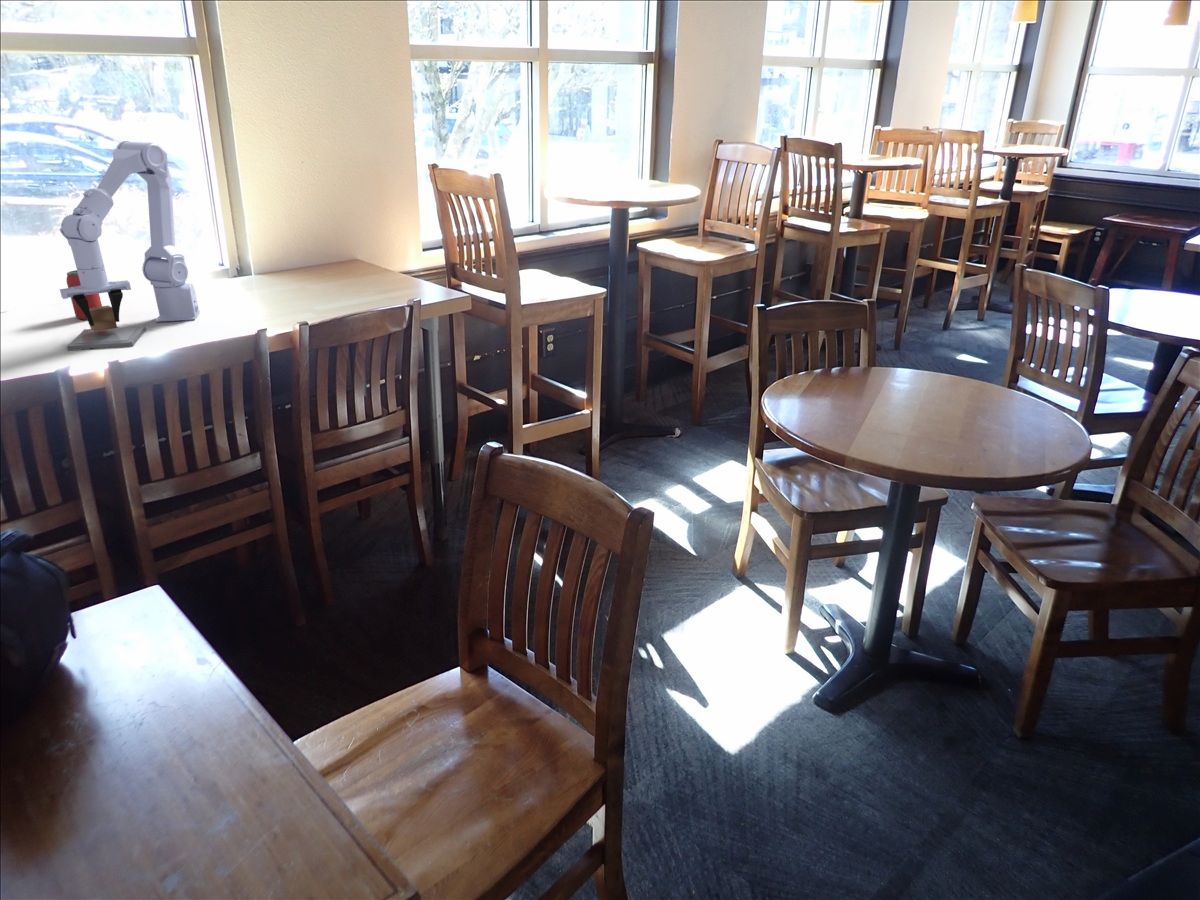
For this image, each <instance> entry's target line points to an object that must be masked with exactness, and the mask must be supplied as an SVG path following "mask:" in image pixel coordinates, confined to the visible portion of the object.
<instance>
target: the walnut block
mask: <svg viewBox="0 0 1200 900" xmlns="http://www.w3.org/2000/svg"><path fill="white" fill-rule="evenodd" d="M89 310H90V314H91V317H92V320H93V323H94V326H90V325H89V327H90V329H92V330H93V331H101V330H107V329H113V328H117V327H118V326H117V322H116V321H115V318H114V313H113V309H112V306H110V305H102V306H101V307H94V308H89Z"/></svg>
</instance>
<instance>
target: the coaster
mask: <svg viewBox="0 0 1200 900" xmlns="http://www.w3.org/2000/svg"><path fill="white" fill-rule="evenodd" d="M146 331H147V327H146V325H138V326H137V325H135V326H121V327H119V326H117V328H113V329H107V330H101V331H93V330H92V329H91V328H89V329H87V328H85V329H83V330H82V331H81V332H80V333H79V334H78V335H77V336H76V337H75V338H74V339H73V340H72V341H71V342H70V343H68V345H67V346H66V348H67V351H72V350H71V349H82V350H91V349H90V348H97V349H107V348H108V349H109V348H110V347H112V348H125V347H127V348H128V347H134V346H135V345H136V343H137V342H138V341H139V340H140V338H141V337H142V335H144V333H145V332H146ZM110 349H111V348H110Z"/></svg>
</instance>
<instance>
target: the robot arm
mask: <svg viewBox="0 0 1200 900" xmlns="http://www.w3.org/2000/svg"><path fill="white" fill-rule="evenodd" d="M112 156H113V157H112V161H111V162H110V163H109V166H108V168H107V169H106V171H105V173H104V175H103V176H102V179H101V180H100V182H99V184H98V186H97V187H96V188H90V189H88V190H85V191H84V192H83V194H82V195H83V197H82V198H81V201H80V202H79V203H78V204H77V206H76V207H74V209H73V210H72V211H73V212H72V214H69V215H68V214H67V215H65V217H64V218H62V219H63V220H62V221H61V225H60V228H59V231H60V234H61V235H62V236H63V238H65V239H66V240H67V244H68V246H70V248H71V252H72V257H73V260H74V264H75V268H76V270H77V272H78V276H79V280H80V284H81V285H80V286H75V287H71V288H68V287H66V288H60V289H59V292H60V296H61V299H63V300H67V299H69V298H71V297H72V298H73V299H74V301H75V302H76V303H77V304H78V306H79V307H80V308H81V310H82V311H83V313H84V314H85V316H86V318H87V322H88V325H89V327H90V326H94V323H93V320H92V317H91V314H90V310H89V305H88V300H87V299H86V297H85V296H84V295H91V294H98V293H99V294H104V293H107V295H108V298H109V302H110V305H111V306H110V307H112V309H113V313H114V318H115V321H116V323H119V322H120V308H121V304H122V303H121V302H122V300H123V297H124V294H123V292H122V291H130V290H132V287H131V283H130V281H129V280H128V279H127V280H120V281H119V280H118V281H116V280H115V281H109V280H108V276H107V271H106V267H105V264H104V260H103V256H102V252H101V246H100V244H99V238H100V237H101V235H102V232H103V231H102V230H103V229H102V226H103V221H104V220H105V218H106V217H107V215H108V214H109V212H110V211H111V209H112V208H113V207H114V199H113V196H114V195H115V194H116V192H117V191H118V190H119V189H120V187H121V186H122V185H123V184H124V182H125V181H126V180H127V179H128V177H129V176H130V175H131V174H137V175H139V176H140V177H141V178H142V179H143V180H144V181H145V183H146V187H147V203H148V215H149V216H148V217H149V220H148V221H149V234H150V246H149V248H147V250H146V251H145V252H144V262H143V264H142V268H141V269H142V273H143V274H142V275H143V276H144V278H145V279H147V281H149V282H150V285H151V286H152V288H153V292H154V297H155V301H156V304H157V305H156V306H157V309H158V314H159V315H158V316H157V318H156V319H155V322H156V323H159V322H160V323H161V322H176V321H181V322H182V321H193V320H196V319H197V317H198V316H199V314H200V310H199V308H200V307H199V303H198V300H197V294H196V289H195V287H194V284H193V283H186V281H187V279H188V276H189V271H188V266H187V265H186V262H185V255H184V254H183V253H182V252H181V251H179V249H178V248H176V242H175V239H176V238H175V223H174V207H173V206H174V205H173V188H172V187H173V186H172V176H171V175H172V174H171V172H170V169H169V167H168V166H169V165H168V153H167V152H166V151H165V150H164V149H163V147H161V146H160V145H159V144H158V143H156V142H153V141H151V142H141V141H138V142H137V141H130V140H122V141H120V142H119V143H118V144H117V146H116V148H115V149H114V150H113V151H112Z"/></svg>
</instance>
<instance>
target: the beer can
mask: <svg viewBox="0 0 1200 900" xmlns="http://www.w3.org/2000/svg"><path fill="white" fill-rule="evenodd" d="M66 285H67V288H71V287H75V286H80V285H81V284H80V280H79V276H78V272H77V269H74V270H71V271H67V272H66ZM84 296H85V297H86V299H87V300H88V305H89V308H94V307H101V306H103V304H102V300H101V296H100V293H98V294H91V295H84ZM70 299H71V300H70V301H71V304H72V308H73V310H74V314H75V318H76V319H78V320H83V321H84V320H87V318H86V316H85V314H84V313H83V311H82V310H81V308H80V307H79V306H78V304H77V303H76V302H75V301H74V299H73V298H72V297H70ZM87 321H88V320H87Z"/></svg>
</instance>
